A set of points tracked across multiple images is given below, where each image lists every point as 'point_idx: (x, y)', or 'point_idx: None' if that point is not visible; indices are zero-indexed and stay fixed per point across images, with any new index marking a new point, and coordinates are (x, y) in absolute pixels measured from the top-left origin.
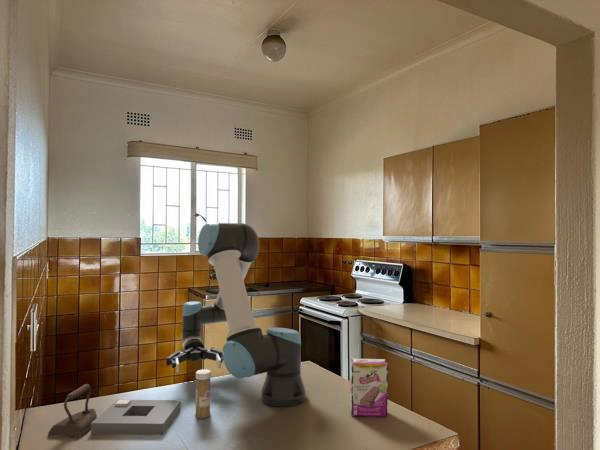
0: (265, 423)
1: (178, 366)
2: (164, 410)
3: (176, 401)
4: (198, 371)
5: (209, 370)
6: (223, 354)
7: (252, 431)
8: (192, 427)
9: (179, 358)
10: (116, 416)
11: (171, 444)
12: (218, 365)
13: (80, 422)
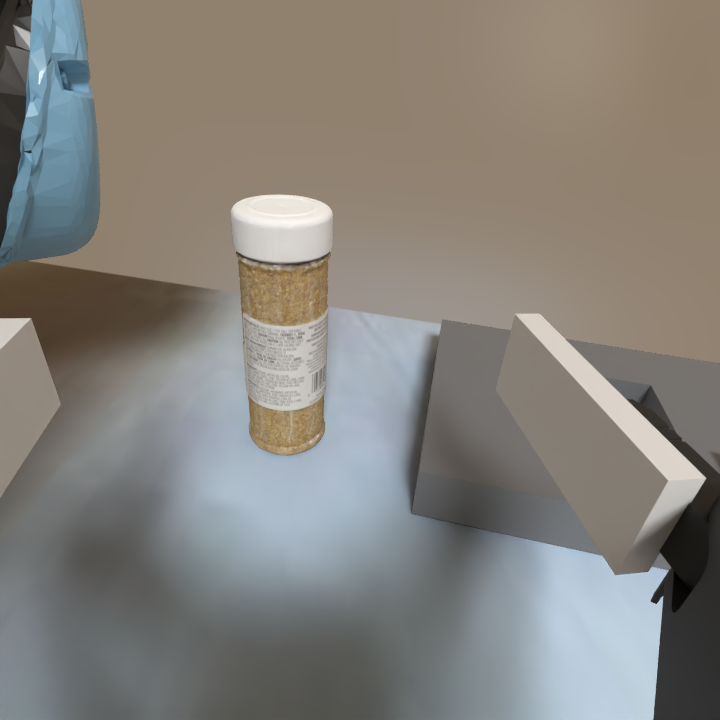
0: (58, 340)
1: (512, 336)
2: (475, 388)
3: (442, 460)
4: (315, 206)
5: (238, 206)
6: (92, 97)
7: (137, 317)
8: (336, 368)
9: (701, 627)
10: (672, 385)
11: (395, 317)
12: (42, 396)
13: None
